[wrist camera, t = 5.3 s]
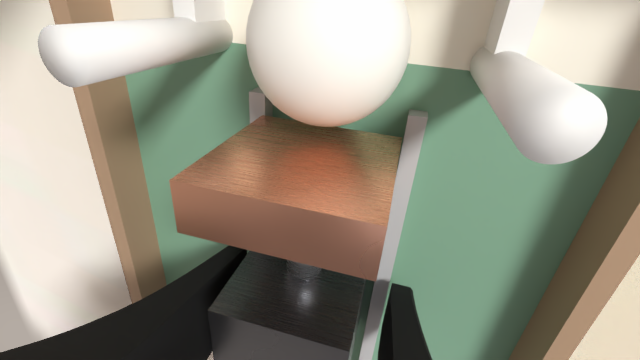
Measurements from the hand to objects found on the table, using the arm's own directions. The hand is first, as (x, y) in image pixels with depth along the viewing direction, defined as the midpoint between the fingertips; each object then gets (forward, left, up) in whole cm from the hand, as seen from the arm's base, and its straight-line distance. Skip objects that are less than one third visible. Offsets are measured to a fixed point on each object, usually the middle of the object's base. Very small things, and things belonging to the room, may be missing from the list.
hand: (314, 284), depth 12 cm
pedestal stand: (+2, 0, -1) cm, 2 cm away
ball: (+8, 0, +1) cm, 8 cm away
